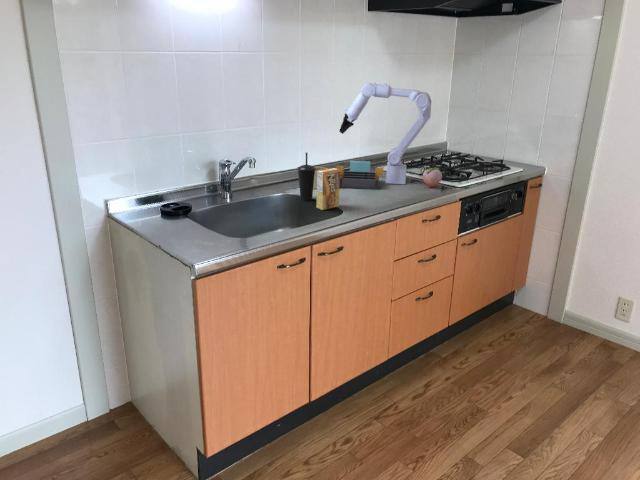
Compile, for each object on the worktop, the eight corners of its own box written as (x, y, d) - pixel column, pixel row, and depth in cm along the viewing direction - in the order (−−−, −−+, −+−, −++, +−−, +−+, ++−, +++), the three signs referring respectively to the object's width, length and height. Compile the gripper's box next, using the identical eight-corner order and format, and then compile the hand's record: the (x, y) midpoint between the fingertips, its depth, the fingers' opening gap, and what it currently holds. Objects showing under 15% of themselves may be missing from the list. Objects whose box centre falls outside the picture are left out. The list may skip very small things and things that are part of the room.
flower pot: (321, 191, 232) (321, 172, 229) (303, 188, 237) (303, 169, 234) (332, 187, 240) (332, 168, 237) (315, 184, 244) (315, 166, 241)
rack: (382, 181, 251) (383, 164, 248) (382, 189, 236) (383, 171, 233) (336, 180, 253) (337, 162, 250) (334, 188, 238) (334, 169, 235)
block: (369, 177, 259) (370, 161, 256) (369, 178, 257) (370, 162, 254) (349, 176, 260) (350, 160, 257) (349, 177, 258) (350, 161, 255)
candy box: (332, 204, 214) (333, 167, 209) (339, 206, 211) (340, 169, 206) (316, 208, 209) (316, 170, 203) (322, 210, 206) (323, 172, 200)
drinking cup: (305, 196, 225) (305, 150, 218) (318, 199, 221) (319, 152, 213) (293, 199, 219) (293, 152, 212) (307, 203, 215) (307, 155, 208)
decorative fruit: (428, 183, 248) (430, 163, 245) (443, 187, 243) (445, 166, 239) (417, 187, 242) (419, 166, 238) (432, 190, 237) (434, 169, 233)
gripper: (351, 99, 248) (335, 122, 254) (349, 104, 235) (333, 129, 241) (363, 107, 249) (347, 130, 255) (362, 113, 236) (345, 137, 242)
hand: (341, 130), depth 248 cm, fingers open, 7 cm apart
